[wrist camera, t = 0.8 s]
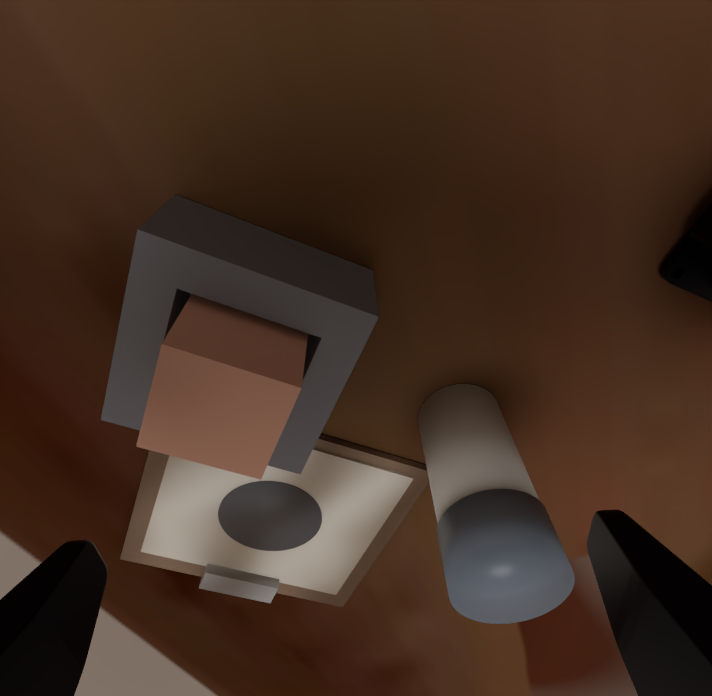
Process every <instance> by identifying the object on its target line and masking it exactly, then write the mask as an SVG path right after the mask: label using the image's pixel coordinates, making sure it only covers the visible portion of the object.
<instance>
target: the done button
mask: <svg viewBox="0 0 712 696" xmlns="http://www.w3.org/2000/svg"><path fill="white" fill-rule="evenodd" d="M307 339H308V333H305V332H303V331H300V330H297V329H294V328H291V327H288V326H285V325H282V324H279V323H276V322H273V321H270V320H268V319H265V318H262V317H259V316H256V315H253V314H250V313H247V312H244V311H241V310H238V309H235V308H232V307H230V306H227V305H224V304H221V303H218V302H215V301H212V300H209V299H206V298H203V297H200V296H197V295H195V294H191V296H190V298H189V299H188V301H187V303H186V304H185V306H184V308H183V309H182V311H181V313H180V314H179V316H178V318H177V319H176V321H175V323H174V324H173V326H172V328H171V329H170V331H169V333H168V334H167V336H166V338H165V339H164V341H163V343H162V345H161V349H160V353H159V357H158V361H157V365H156V369H155V373H154V377H153V381H152V385H151V389H150V393H149V397H148V401H147V405H146V409H145V413H144V417H143V421H142V425H141V429H140V433H139V437H138V441H137V445H136V447H140V448H144V449H148V450H151V451H155V452H159V453H163V454H166V455H170V456H174V457H178V458H181V459H185V460H189V461H193V462H196V463H200V464H204V465H208V466H211V467H215V468H219V469H223V470H226V471H230V472H234V473H238V474H241V475H245V476H249V477H253V478H256V479H260V480H261V479H262V476H263V474H264V472H265V470H266V467H267V465H268V463H269V461H270V458H271V456H272V454H273V452H274V449H275V447H276V445H277V443H278V440H279V438H280V436H281V434H282V431H283V429H284V427H285V425H286V422H287V420H288V418H289V416H290V413H291V411H292V409H293V407H294V404H295V402H296V400H297V398H298V395H299V393H300V391H301V389H302V381H303V373H304V364H305V356H306V347H307Z"/></svg>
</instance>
